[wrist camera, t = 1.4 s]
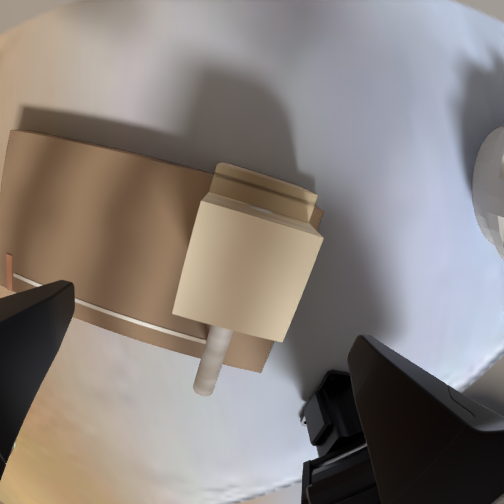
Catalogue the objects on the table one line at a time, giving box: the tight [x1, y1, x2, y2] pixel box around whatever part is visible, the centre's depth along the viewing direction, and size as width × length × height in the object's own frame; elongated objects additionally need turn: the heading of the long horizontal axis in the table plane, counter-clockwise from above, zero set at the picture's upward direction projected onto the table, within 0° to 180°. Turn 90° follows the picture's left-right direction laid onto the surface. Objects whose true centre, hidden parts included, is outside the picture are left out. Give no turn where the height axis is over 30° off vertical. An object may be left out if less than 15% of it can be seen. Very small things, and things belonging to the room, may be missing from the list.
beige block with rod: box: [172, 162, 324, 396], centre depth 17 cm, size 5×12×8 cm, turn 163°
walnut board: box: [0, 130, 324, 373], centre depth 20 cm, size 22×12×2 cm, turn 73°
